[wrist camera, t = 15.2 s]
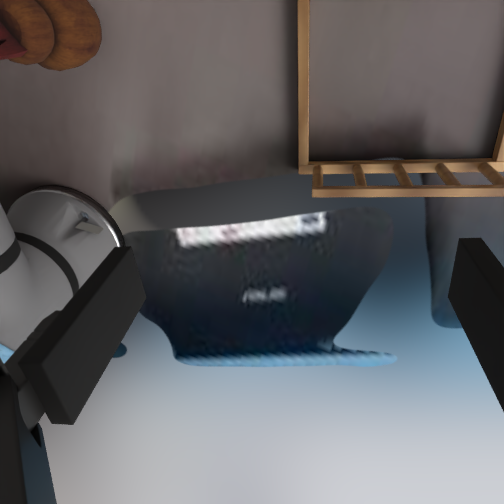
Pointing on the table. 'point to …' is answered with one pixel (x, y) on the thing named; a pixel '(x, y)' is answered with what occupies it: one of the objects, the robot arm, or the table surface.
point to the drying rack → (487, 166)
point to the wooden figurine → (49, 32)
